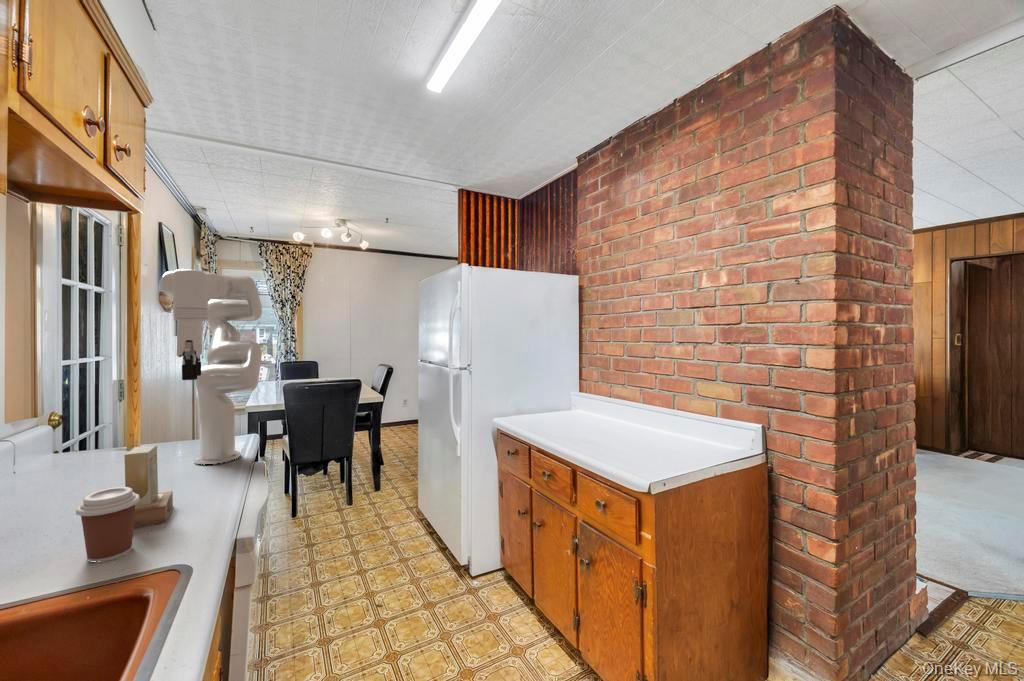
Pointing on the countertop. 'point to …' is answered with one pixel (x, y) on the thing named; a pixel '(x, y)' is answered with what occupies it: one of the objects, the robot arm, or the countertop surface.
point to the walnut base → (154, 510)
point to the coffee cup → (108, 522)
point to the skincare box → (142, 473)
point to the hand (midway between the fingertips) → (192, 377)
